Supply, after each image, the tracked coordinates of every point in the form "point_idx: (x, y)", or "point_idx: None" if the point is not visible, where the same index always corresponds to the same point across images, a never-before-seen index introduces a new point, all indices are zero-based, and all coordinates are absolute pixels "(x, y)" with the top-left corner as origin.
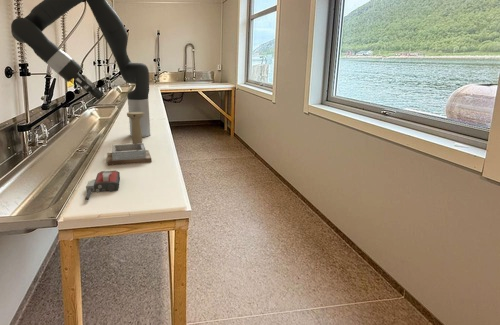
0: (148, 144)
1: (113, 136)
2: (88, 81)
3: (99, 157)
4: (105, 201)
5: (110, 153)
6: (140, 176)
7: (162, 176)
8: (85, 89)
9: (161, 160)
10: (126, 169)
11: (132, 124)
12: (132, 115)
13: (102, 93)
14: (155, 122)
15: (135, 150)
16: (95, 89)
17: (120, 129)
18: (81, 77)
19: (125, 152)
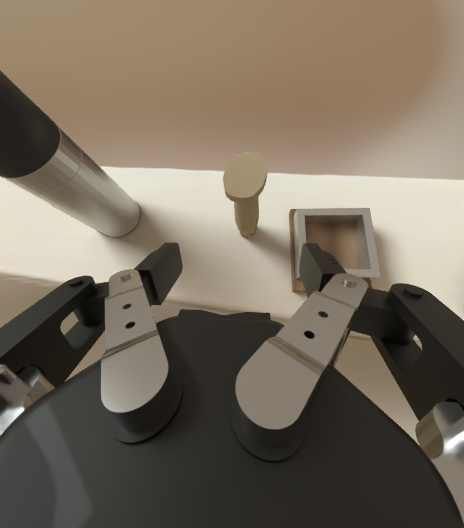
0: (209, 208)
1: (103, 273)
2: (348, 320)
3: (293, 308)
4: None
5: (302, 283)
6: (453, 238)
7: (456, 203)
8: (419, 353)
9: (345, 195)
10: (401, 259)
11: (252, 205)
12: (263, 185)
13: (176, 243)
14: (6, 180)
15: (367, 227)
16: (159, 275)
17: (37, 255)
18: (413, 462)
19: (374, 249)
